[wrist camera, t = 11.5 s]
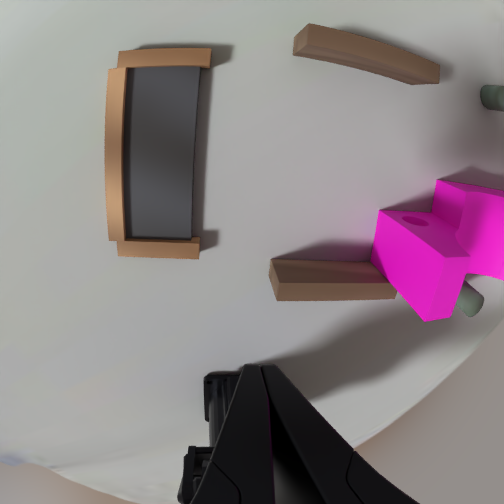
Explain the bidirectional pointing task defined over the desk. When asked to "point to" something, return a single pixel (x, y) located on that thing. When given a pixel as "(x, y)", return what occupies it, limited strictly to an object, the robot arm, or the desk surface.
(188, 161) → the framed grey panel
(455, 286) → the magenta curved bracket
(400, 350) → the desk surface
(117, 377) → the desk surface
